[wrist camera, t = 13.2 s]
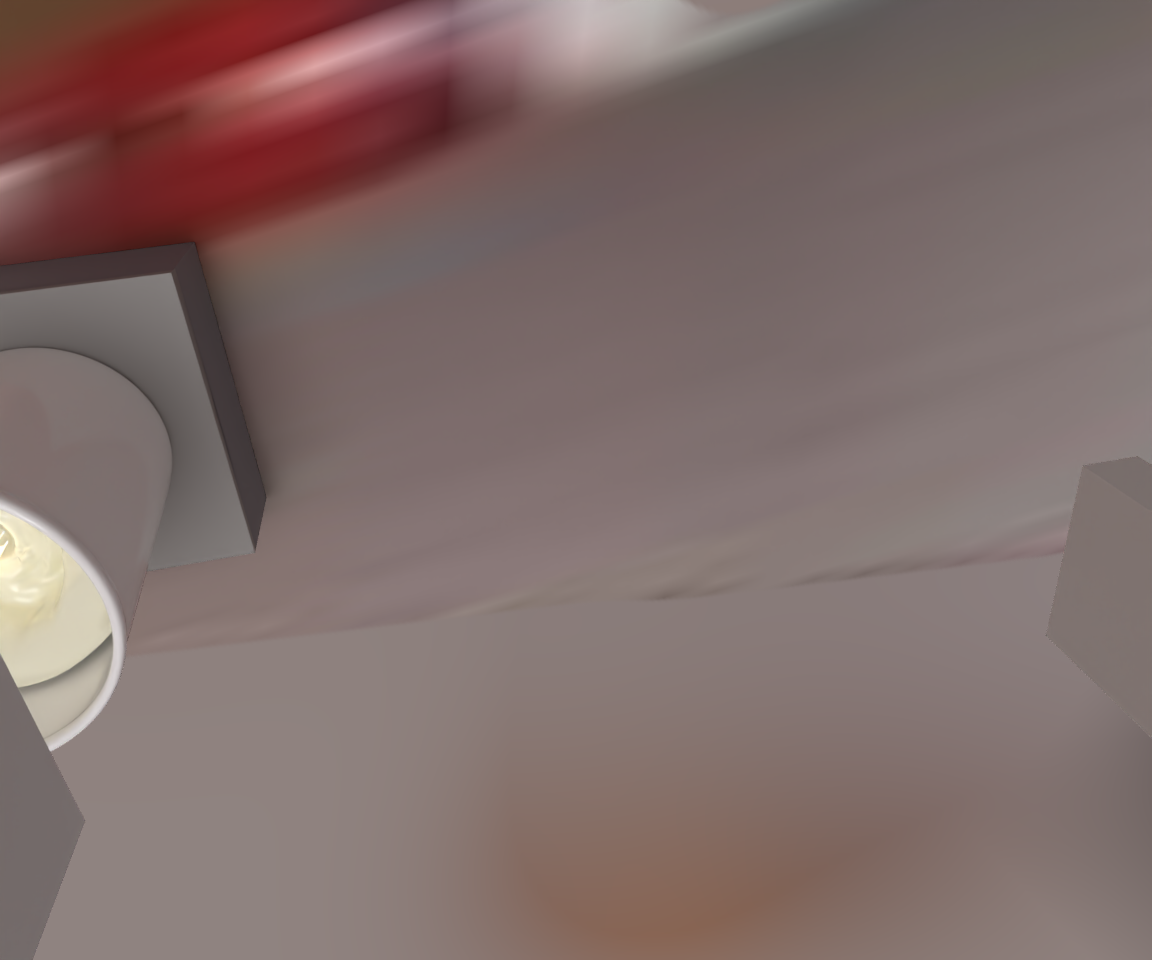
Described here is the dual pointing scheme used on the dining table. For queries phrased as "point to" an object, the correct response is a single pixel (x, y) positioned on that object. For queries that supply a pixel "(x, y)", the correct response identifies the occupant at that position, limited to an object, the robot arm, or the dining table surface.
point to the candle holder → (73, 528)
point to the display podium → (154, 378)
